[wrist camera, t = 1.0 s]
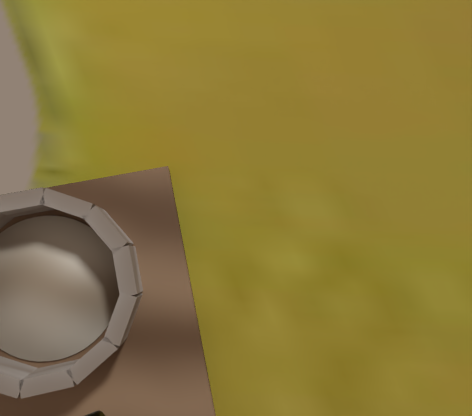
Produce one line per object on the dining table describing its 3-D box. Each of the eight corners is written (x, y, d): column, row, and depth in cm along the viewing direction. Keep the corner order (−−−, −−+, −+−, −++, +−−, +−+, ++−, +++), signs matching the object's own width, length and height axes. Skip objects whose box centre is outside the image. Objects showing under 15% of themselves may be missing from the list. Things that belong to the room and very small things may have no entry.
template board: (225, 468, 22) (229, 501, 19) (-37, 535, 21) (-77, 582, 18) (169, 169, 24) (164, 157, 21) (-79, 214, 22) (-122, 207, 19)
